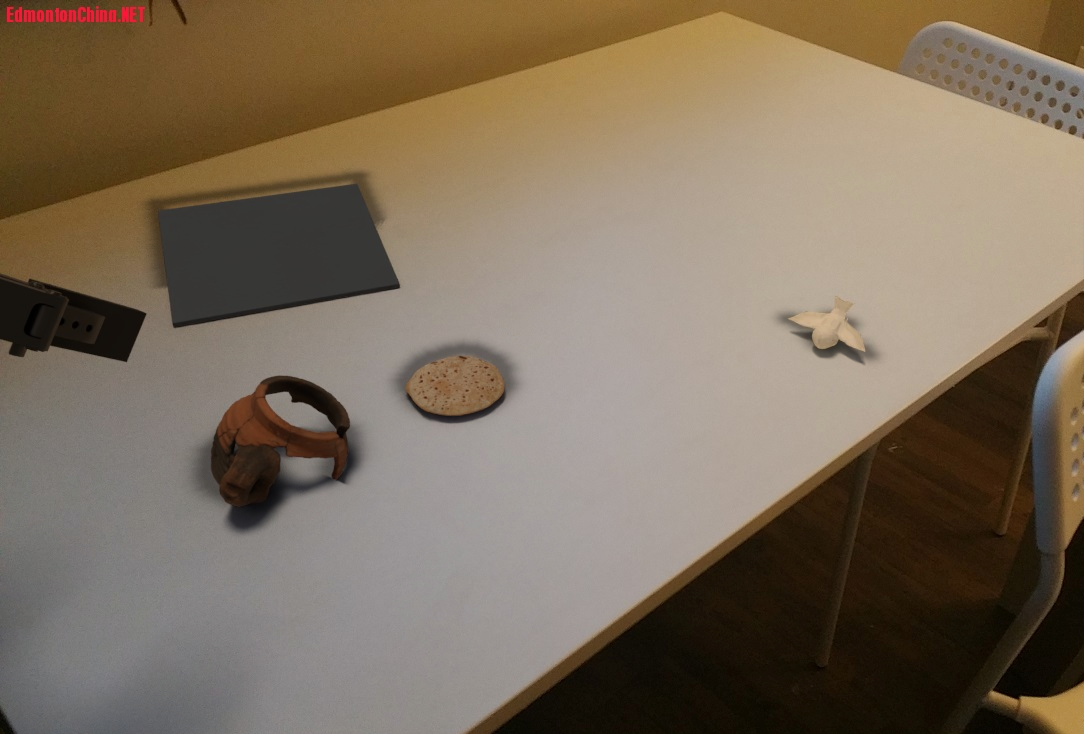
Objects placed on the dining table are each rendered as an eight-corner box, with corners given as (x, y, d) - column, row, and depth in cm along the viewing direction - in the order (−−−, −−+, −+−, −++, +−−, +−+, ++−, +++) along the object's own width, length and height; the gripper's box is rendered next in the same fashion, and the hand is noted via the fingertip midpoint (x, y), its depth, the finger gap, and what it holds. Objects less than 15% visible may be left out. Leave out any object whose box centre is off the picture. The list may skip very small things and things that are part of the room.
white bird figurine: (776, 335, 92) (792, 288, 90) (794, 327, 96) (810, 282, 94) (854, 369, 89) (872, 321, 87) (869, 359, 93) (887, 314, 91)
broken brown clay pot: (225, 431, 78) (265, 350, 76) (334, 484, 81) (377, 407, 78) (157, 514, 68) (201, 423, 65) (286, 573, 70) (334, 488, 67)
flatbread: (492, 355, 87) (492, 346, 87) (513, 410, 82) (513, 401, 81) (399, 370, 85) (398, 361, 84) (414, 428, 80) (413, 419, 79)
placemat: (158, 214, 101) (157, 210, 100) (357, 187, 108) (357, 183, 108) (173, 327, 87) (172, 323, 87) (400, 287, 94) (399, 283, 94)
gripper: (-750, 156, 36) (-150, 291, 56) (-318, 378, 29) (188, 441, 49) (-659, -32, 36) (-98, 170, 56) (-213, 141, 29) (245, 300, 49)
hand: (36, 296), depth 53 cm, fingers open, 13 cm apart
